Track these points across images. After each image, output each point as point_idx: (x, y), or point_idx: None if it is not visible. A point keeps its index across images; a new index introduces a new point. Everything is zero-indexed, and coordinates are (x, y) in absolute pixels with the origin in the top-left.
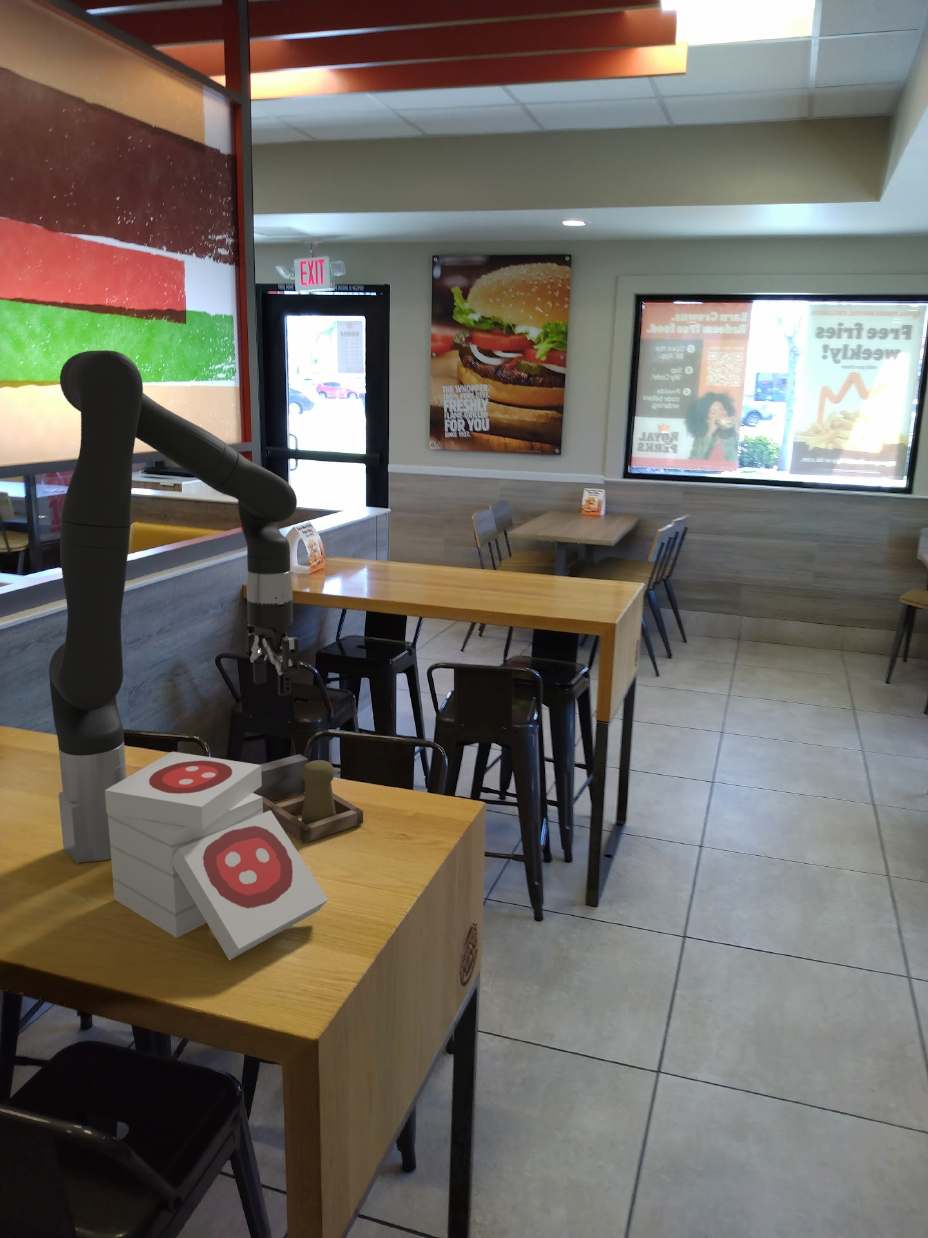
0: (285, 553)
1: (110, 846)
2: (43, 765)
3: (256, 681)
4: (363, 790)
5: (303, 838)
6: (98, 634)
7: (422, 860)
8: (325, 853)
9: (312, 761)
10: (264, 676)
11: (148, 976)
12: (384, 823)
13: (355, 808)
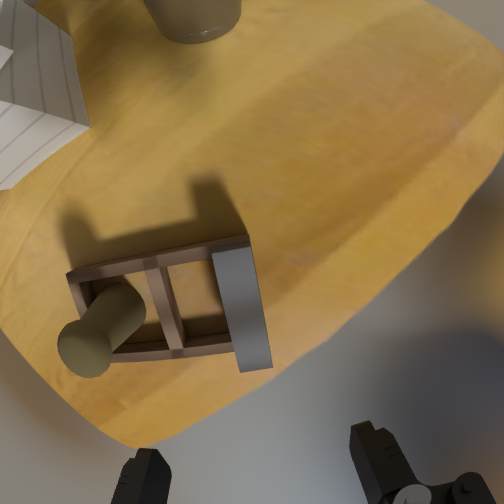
0: None
1: (38, 12)
2: (479, 55)
3: (355, 433)
4: (210, 396)
5: (75, 269)
6: None
7: (31, 353)
8: (53, 280)
9: (88, 357)
10: (357, 464)
11: None
12: (106, 372)
13: None
